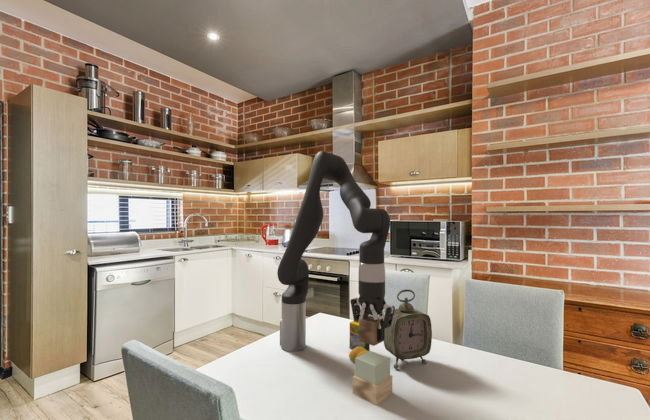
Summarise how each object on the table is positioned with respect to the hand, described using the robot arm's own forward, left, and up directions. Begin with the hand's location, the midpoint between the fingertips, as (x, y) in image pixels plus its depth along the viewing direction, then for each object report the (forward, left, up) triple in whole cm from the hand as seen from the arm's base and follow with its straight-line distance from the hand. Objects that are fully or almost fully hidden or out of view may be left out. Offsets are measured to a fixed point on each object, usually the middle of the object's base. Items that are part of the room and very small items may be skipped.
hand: (371, 338), depth 90 cm
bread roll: (-14, +15, -16) cm, 26 cm away
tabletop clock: (-2, +23, -16) cm, 28 cm away
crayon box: (-20, +21, -16) cm, 33 cm away
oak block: (0, 0, -16) cm, 16 cm away
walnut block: (0, 0, -1) cm, 1 cm away
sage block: (0, 0, -11) cm, 11 cm away
